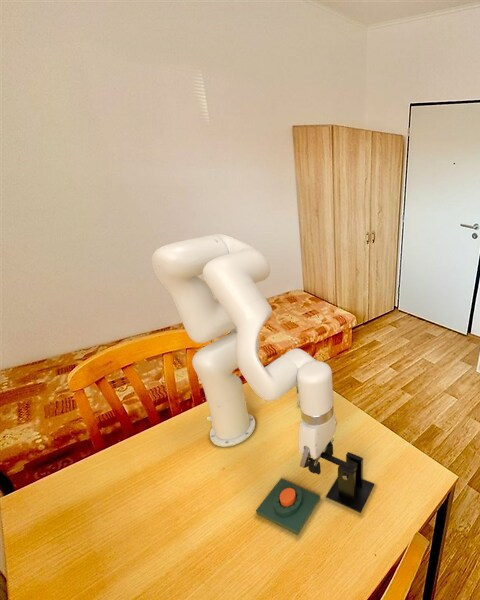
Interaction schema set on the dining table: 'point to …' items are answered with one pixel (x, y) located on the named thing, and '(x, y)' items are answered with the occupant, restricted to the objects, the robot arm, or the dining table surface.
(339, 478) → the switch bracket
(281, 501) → the button
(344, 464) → the switch lever
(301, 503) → the control block
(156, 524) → the dining table surface
